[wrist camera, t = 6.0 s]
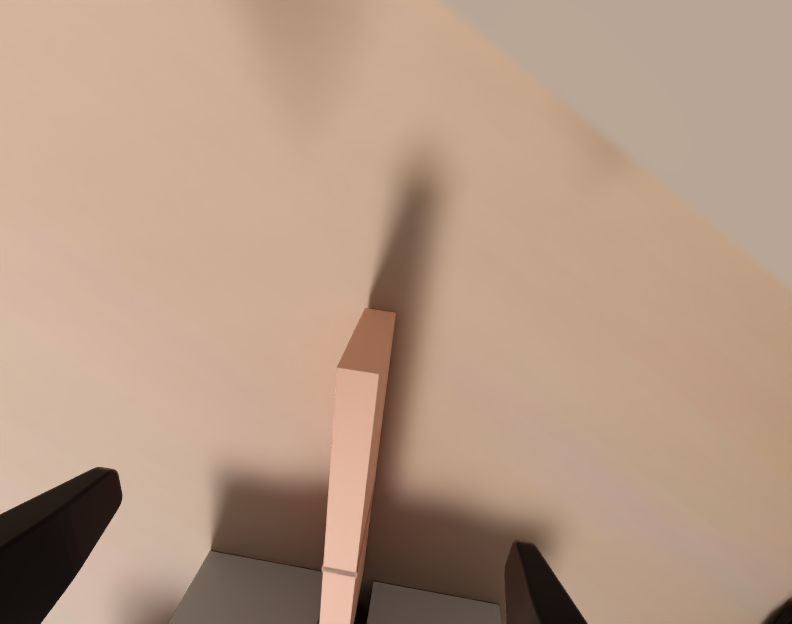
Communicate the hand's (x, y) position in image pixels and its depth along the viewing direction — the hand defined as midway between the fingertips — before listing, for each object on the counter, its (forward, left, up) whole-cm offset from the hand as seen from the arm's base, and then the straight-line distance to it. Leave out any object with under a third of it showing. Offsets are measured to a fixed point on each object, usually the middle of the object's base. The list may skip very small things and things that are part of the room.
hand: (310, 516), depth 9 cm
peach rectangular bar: (0, +6, -8) cm, 10 cm away
